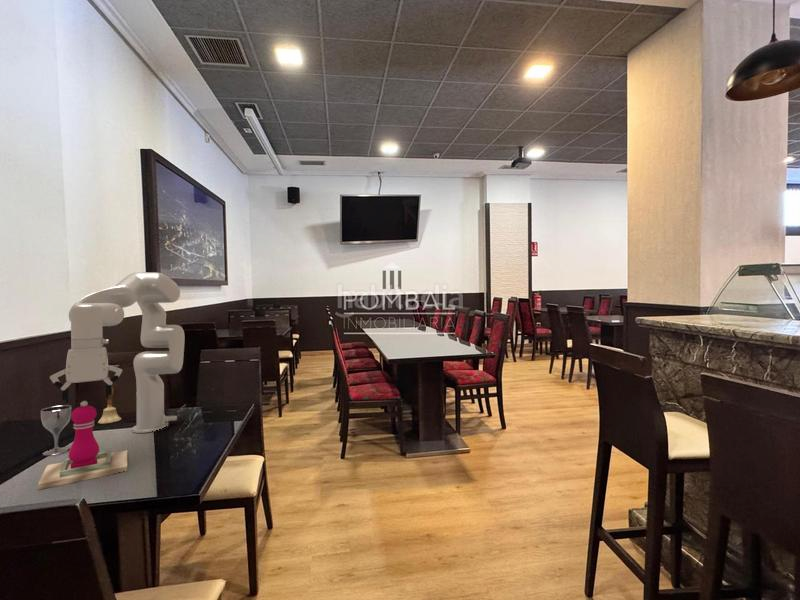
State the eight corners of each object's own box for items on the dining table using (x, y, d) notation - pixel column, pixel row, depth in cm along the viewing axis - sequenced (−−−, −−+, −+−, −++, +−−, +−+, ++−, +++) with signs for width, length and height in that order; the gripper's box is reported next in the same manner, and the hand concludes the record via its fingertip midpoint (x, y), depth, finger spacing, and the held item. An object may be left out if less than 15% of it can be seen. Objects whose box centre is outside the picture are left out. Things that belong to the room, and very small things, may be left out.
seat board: (127, 454, 130) (127, 445, 130) (127, 471, 117) (127, 461, 117) (47, 470, 118) (47, 460, 119) (37, 490, 105) (37, 479, 106)
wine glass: (36, 457, 129) (36, 412, 129) (45, 449, 136) (45, 407, 136) (67, 453, 132) (67, 409, 132) (74, 445, 139) (74, 404, 140)
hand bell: (96, 420, 170) (96, 384, 170) (119, 417, 176) (119, 381, 176) (98, 425, 164) (98, 387, 164) (122, 420, 170) (122, 384, 170)
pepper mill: (81, 473, 113) (81, 404, 113) (61, 471, 114) (61, 403, 114) (105, 463, 120) (105, 398, 120) (86, 461, 121) (86, 397, 121)
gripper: (122, 341, 127) (122, 393, 127) (51, 345, 116) (52, 401, 117) (121, 343, 120) (122, 397, 121) (47, 347, 110) (48, 407, 110)
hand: (88, 399), depth 119 cm, fingers open, 9 cm apart
